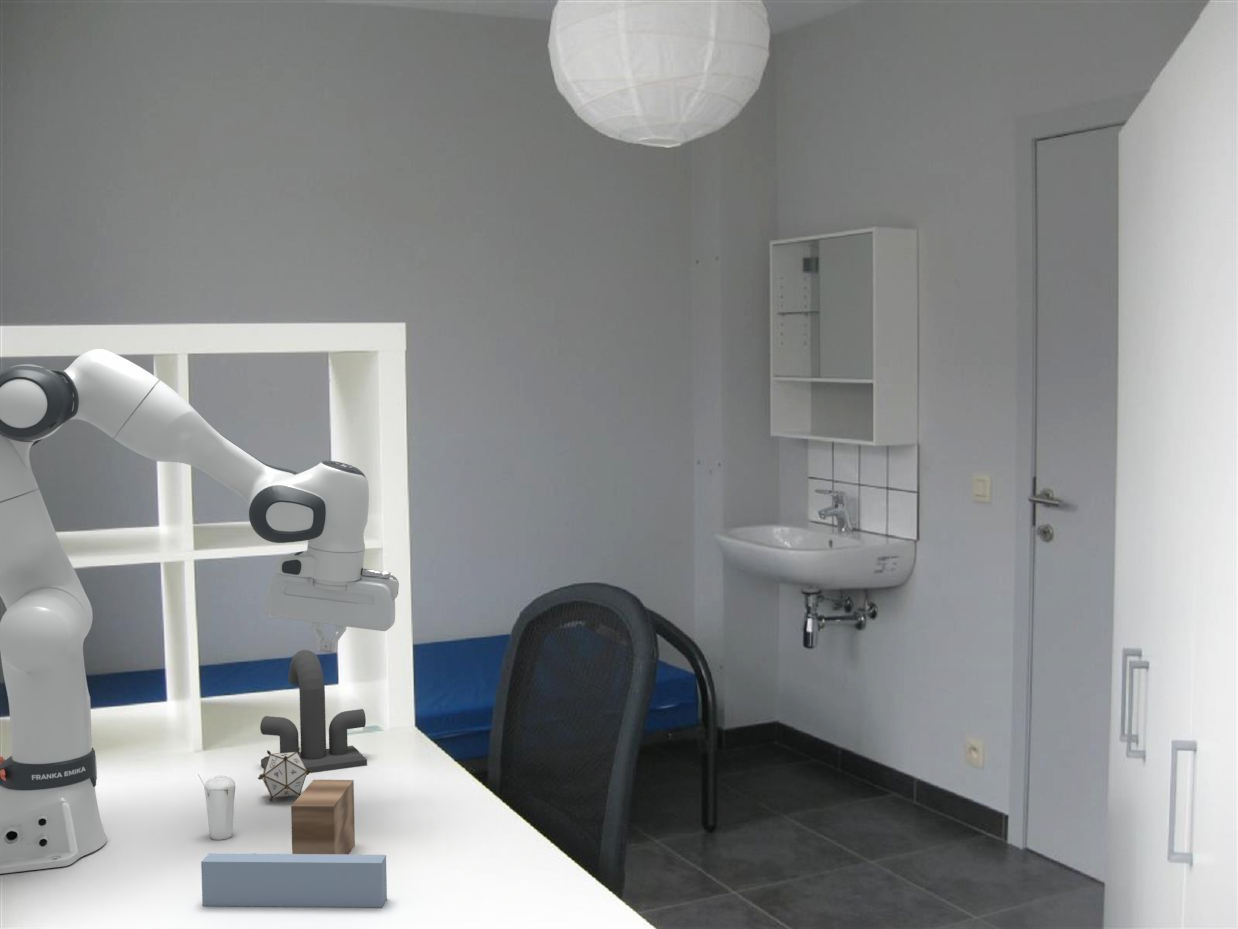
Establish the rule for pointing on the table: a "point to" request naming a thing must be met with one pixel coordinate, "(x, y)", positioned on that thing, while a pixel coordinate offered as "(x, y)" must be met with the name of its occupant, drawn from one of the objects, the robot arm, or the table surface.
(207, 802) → the milkshake
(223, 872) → the slate board
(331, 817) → the walnut block
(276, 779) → the game die
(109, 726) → the table surface
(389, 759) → the table surface
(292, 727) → the faucet
